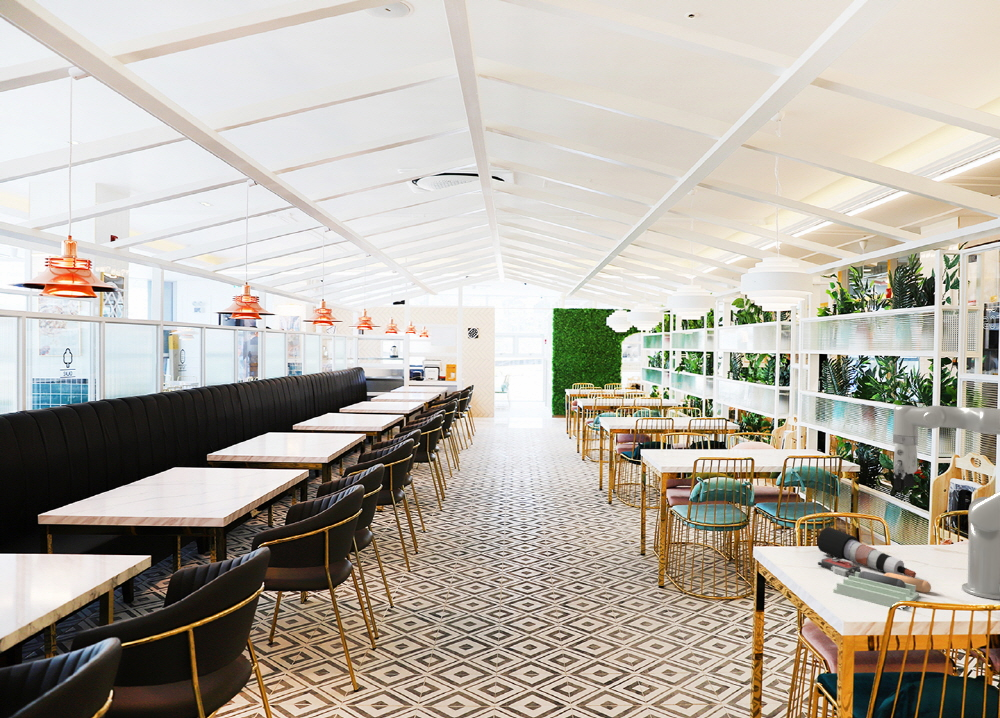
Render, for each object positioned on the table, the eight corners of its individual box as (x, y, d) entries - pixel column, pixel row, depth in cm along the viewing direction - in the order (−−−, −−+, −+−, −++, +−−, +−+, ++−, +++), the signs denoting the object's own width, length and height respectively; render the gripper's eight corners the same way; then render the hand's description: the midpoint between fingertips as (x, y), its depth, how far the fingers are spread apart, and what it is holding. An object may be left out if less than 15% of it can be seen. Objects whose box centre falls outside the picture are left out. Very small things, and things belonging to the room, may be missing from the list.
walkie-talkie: (813, 567, 239) (867, 584, 221) (813, 555, 239) (867, 571, 221) (828, 564, 243) (881, 580, 226) (828, 552, 243) (882, 568, 226)
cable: (908, 594, 224) (903, 571, 221) (820, 556, 254) (815, 536, 252) (924, 578, 228) (920, 555, 225) (836, 542, 258) (831, 522, 255)
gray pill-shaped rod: (907, 591, 211) (907, 579, 211) (903, 594, 209) (903, 582, 209) (860, 580, 221) (860, 568, 222) (856, 583, 219) (856, 571, 219)
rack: (919, 596, 210) (919, 586, 210) (902, 610, 198) (902, 599, 198) (852, 580, 225) (852, 570, 225) (833, 592, 212) (833, 582, 212)
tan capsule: (932, 592, 214) (932, 580, 214) (929, 595, 211) (929, 583, 211) (885, 581, 224) (885, 570, 224) (881, 584, 221) (881, 572, 221)
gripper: (909, 443, 220) (907, 493, 220) (925, 439, 231) (923, 487, 231) (884, 440, 225) (883, 489, 225) (901, 437, 237) (900, 484, 237)
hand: (903, 488), depth 228 cm, fingers open, 9 cm apart
